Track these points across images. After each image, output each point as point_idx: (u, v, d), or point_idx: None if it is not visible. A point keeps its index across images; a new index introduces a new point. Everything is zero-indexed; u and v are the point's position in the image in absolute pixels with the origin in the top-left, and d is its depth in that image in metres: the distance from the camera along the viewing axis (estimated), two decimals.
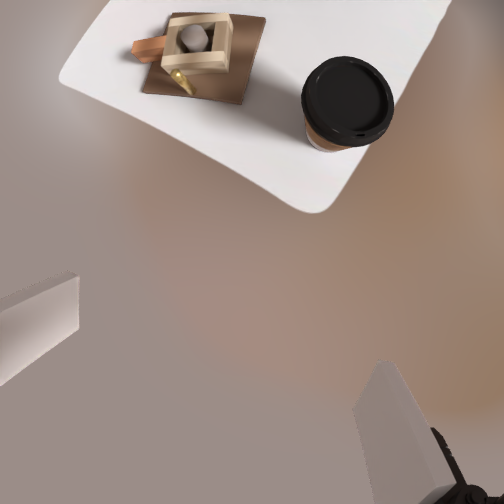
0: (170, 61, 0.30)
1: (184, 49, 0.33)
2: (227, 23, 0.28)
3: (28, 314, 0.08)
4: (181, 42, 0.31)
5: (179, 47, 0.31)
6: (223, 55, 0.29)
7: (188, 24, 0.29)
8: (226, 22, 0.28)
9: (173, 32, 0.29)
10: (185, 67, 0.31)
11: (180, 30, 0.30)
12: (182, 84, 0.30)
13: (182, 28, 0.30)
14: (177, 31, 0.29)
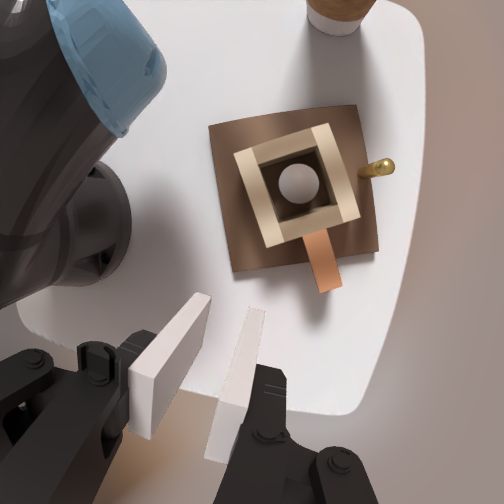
0: (350, 204, 0.22)
1: (303, 212, 0.26)
2: None
3: (187, 342, 0.10)
4: (299, 215, 0.25)
5: (312, 211, 0.24)
6: None
7: (272, 208, 0.23)
8: (254, 147, 0.22)
9: (294, 226, 0.23)
10: None
11: (283, 221, 0.24)
12: None
13: (278, 220, 0.24)
14: (291, 221, 0.23)
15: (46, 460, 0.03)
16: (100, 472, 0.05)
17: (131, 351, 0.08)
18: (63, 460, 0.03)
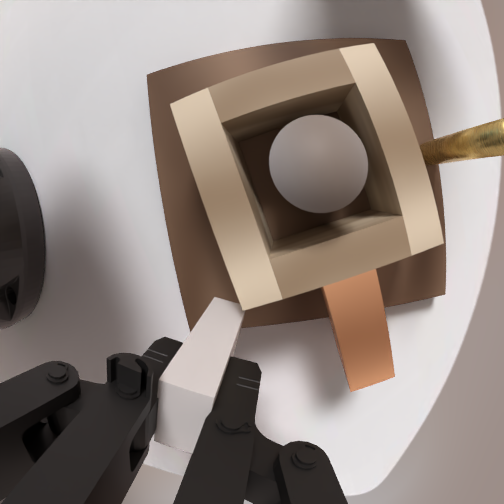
0: (426, 214, 0.09)
1: (321, 227, 0.13)
2: None
3: None
4: (315, 234, 0.12)
5: (342, 227, 0.11)
6: None
7: (256, 223, 0.10)
8: (215, 87, 0.09)
9: (307, 264, 0.10)
10: None
11: (280, 251, 0.11)
12: None
13: (268, 249, 0.11)
14: (299, 252, 0.10)
15: (72, 476, 0.03)
16: (125, 485, 0.05)
17: (156, 360, 0.08)
18: (91, 476, 0.03)
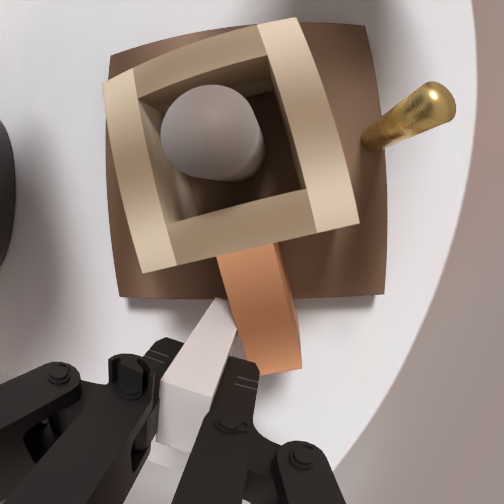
0: (337, 189, 0.09)
1: None
2: None
3: None
4: None
5: None
6: None
7: (157, 190, 0.10)
8: (139, 67, 0.09)
9: (200, 232, 0.10)
10: None
11: None
12: None
13: (174, 217, 0.11)
14: (193, 219, 0.10)
15: (74, 477, 0.03)
16: (127, 486, 0.05)
17: (157, 360, 0.08)
18: (92, 477, 0.03)
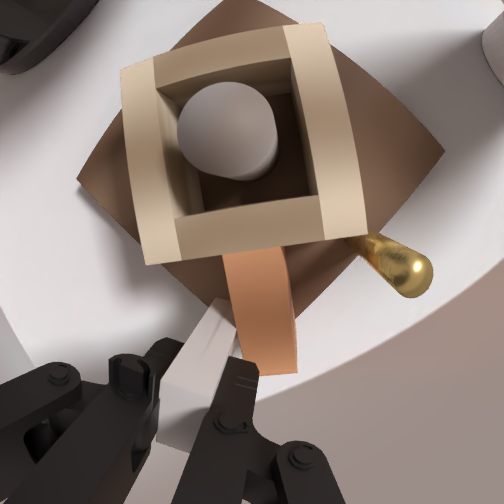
0: (348, 198, 0.09)
1: (251, 203, 0.13)
2: None
3: None
4: (236, 206, 0.12)
5: (261, 202, 0.11)
6: None
7: (168, 183, 0.10)
8: (159, 57, 0.09)
9: (208, 229, 0.10)
10: None
11: None
12: None
13: (182, 211, 0.11)
14: (202, 215, 0.10)
15: (74, 477, 0.03)
16: (127, 486, 0.05)
17: (157, 360, 0.08)
18: (92, 477, 0.03)
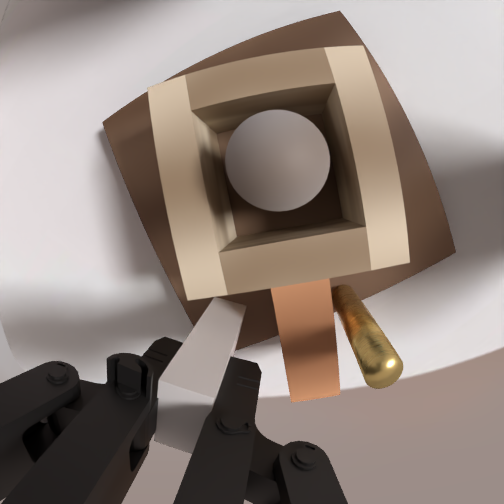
0: (393, 229, 0.09)
1: (286, 228, 0.13)
2: None
3: None
4: (276, 235, 0.12)
5: (303, 231, 0.11)
6: None
7: (210, 214, 0.10)
8: (192, 75, 0.09)
9: (256, 263, 0.10)
10: None
11: (234, 246, 0.11)
12: None
13: (223, 242, 0.11)
14: (249, 249, 0.10)
15: (72, 476, 0.03)
16: (126, 486, 0.05)
17: (156, 360, 0.08)
18: (90, 477, 0.03)
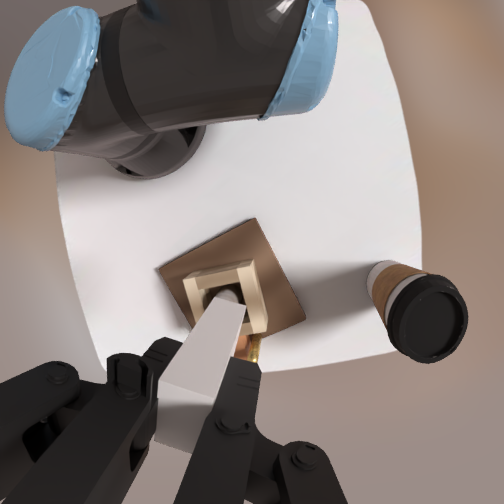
0: (259, 322, 0.33)
1: None
2: (197, 276, 0.33)
3: None
4: None
5: None
6: (241, 267, 0.33)
7: None
8: (197, 277, 0.33)
9: None
10: (261, 304, 0.34)
11: None
12: None
13: None
14: None
15: (72, 476, 0.03)
16: (126, 485, 0.05)
17: (156, 360, 0.08)
18: (91, 476, 0.03)
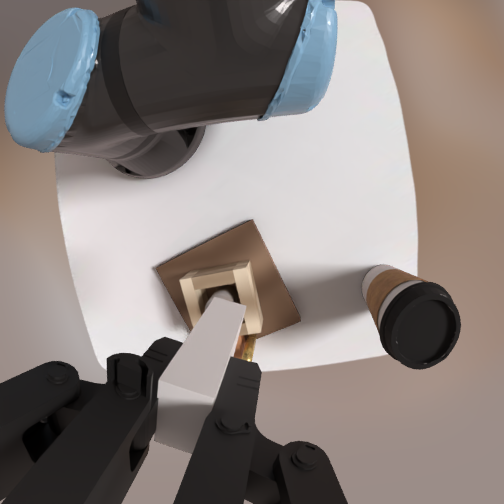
0: (254, 323, 0.34)
1: None
2: (194, 276, 0.34)
3: None
4: None
5: None
6: (237, 268, 0.33)
7: None
8: (193, 278, 0.33)
9: None
10: (256, 306, 0.35)
11: None
12: None
13: None
14: None
15: (72, 476, 0.03)
16: (125, 485, 0.05)
17: (155, 360, 0.08)
18: (90, 476, 0.03)
